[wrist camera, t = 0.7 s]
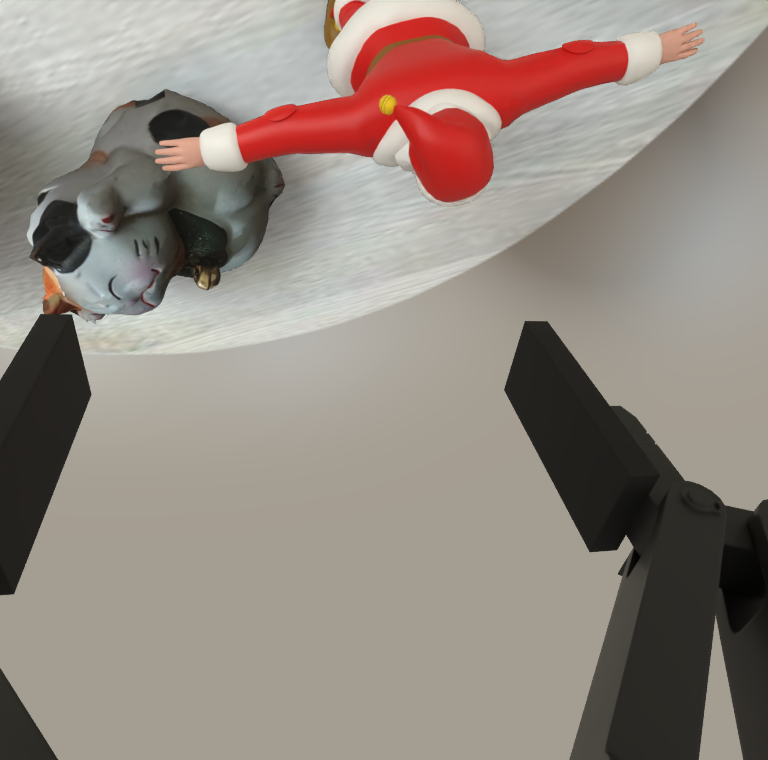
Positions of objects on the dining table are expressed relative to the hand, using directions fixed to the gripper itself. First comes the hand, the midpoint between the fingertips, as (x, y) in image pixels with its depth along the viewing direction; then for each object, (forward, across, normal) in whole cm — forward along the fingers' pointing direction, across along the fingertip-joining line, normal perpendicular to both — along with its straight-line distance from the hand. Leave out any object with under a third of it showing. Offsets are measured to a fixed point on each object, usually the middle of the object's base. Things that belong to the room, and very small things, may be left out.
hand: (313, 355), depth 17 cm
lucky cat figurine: (+29, -8, -5) cm, 30 cm away
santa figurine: (+26, +5, +8) cm, 28 cm away
